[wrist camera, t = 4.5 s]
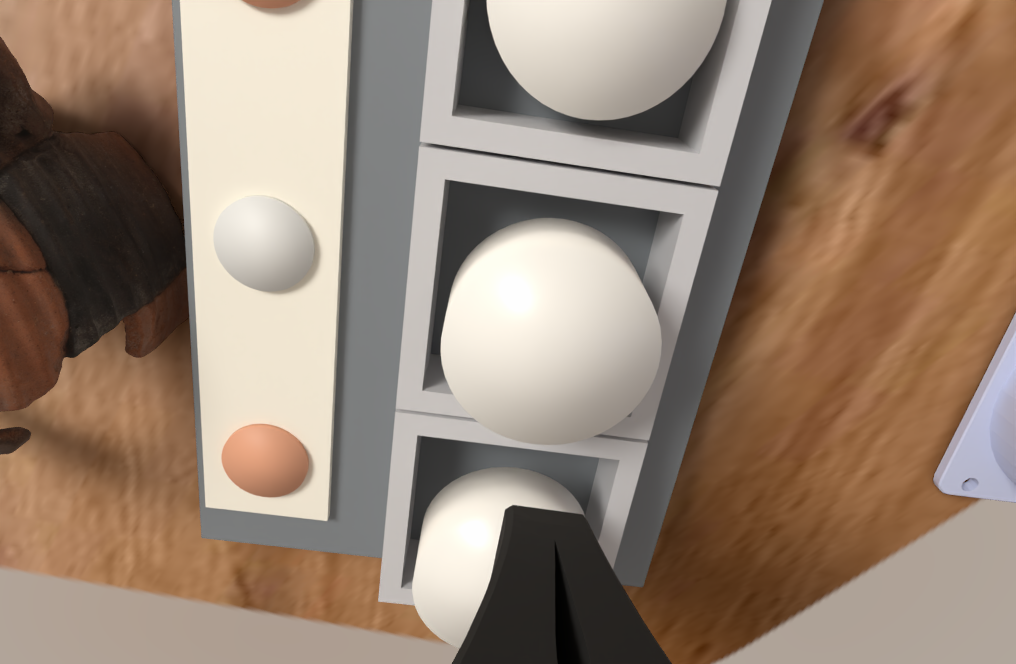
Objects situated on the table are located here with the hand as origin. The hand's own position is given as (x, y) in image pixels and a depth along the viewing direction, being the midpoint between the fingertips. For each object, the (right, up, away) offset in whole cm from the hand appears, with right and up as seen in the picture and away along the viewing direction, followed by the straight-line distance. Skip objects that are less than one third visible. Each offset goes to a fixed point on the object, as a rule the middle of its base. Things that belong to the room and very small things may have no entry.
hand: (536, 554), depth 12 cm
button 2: (-1, -2, +6) cm, 7 cm away
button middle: (0, +4, +4) cm, 6 cm away
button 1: (+1, +11, +2) cm, 11 cm away
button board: (-2, +6, +7) cm, 10 cm away
